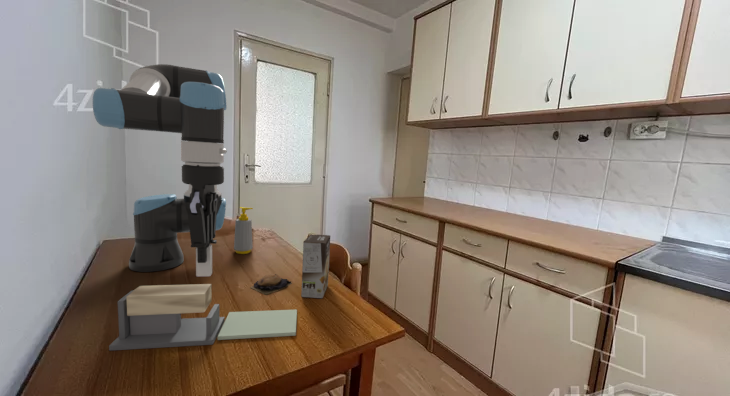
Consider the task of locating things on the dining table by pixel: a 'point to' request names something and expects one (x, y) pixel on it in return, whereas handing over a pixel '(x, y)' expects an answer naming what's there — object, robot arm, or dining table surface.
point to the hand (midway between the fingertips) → (204, 274)
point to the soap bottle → (243, 233)
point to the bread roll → (270, 284)
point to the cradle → (164, 329)
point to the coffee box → (315, 266)
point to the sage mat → (259, 324)
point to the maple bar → (169, 299)
